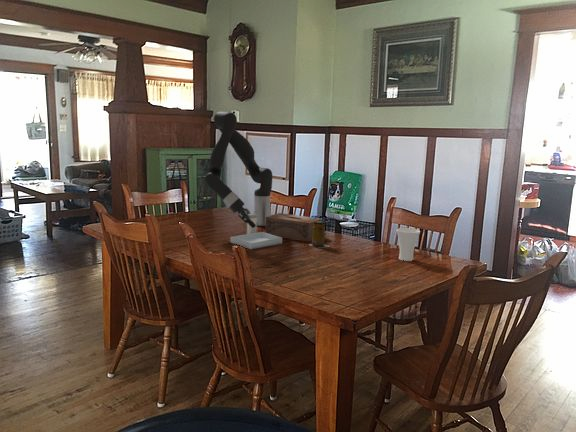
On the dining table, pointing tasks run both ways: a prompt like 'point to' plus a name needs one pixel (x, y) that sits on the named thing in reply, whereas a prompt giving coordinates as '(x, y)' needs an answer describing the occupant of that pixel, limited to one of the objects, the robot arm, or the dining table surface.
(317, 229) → the condiment
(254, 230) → the cylinder
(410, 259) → the cup
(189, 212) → the dining table surface
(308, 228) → the tissue box cover
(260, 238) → the tray
